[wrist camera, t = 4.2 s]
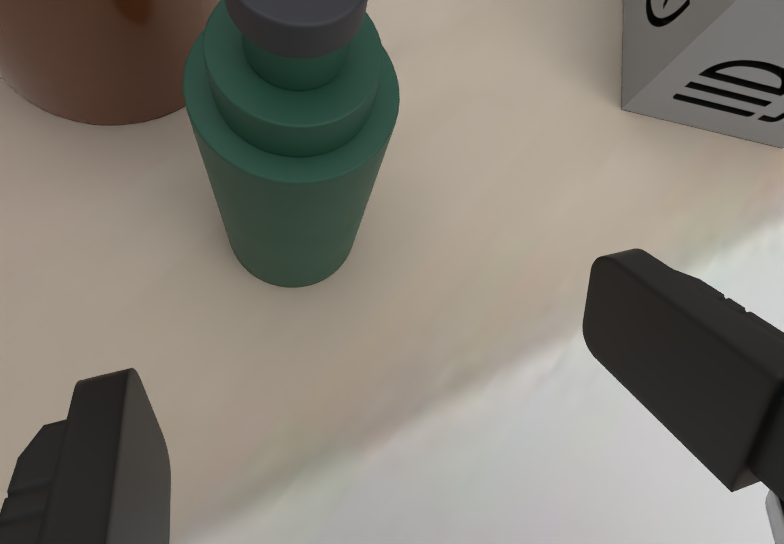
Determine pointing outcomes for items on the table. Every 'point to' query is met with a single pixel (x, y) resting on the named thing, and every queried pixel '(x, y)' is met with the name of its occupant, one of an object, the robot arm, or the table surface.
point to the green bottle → (291, 128)
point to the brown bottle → (100, 55)
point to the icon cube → (707, 65)
